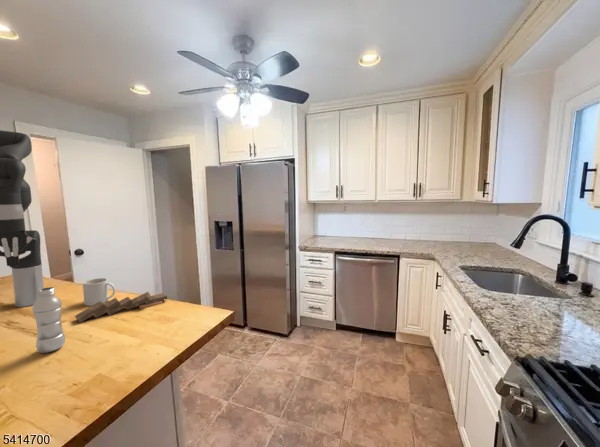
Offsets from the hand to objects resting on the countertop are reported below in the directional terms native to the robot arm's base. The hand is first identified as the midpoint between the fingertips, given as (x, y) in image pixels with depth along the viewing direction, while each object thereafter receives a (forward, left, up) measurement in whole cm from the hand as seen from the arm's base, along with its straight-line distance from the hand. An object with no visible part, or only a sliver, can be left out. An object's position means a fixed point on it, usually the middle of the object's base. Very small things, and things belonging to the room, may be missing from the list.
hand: (13, 266), depth 89 cm
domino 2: (+3, +20, -23) cm, 31 cm away
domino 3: (+4, +25, -23) cm, 34 cm away
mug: (-14, +24, -24) cm, 37 cm away
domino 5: (+5, +38, -22) cm, 44 cm away
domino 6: (+4, +36, -24) cm, 44 cm away
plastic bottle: (+22, +7, -24) cm, 34 cm away
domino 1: (+4, +15, -23) cm, 28 cm away
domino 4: (+3, +32, -23) cm, 40 cm away
